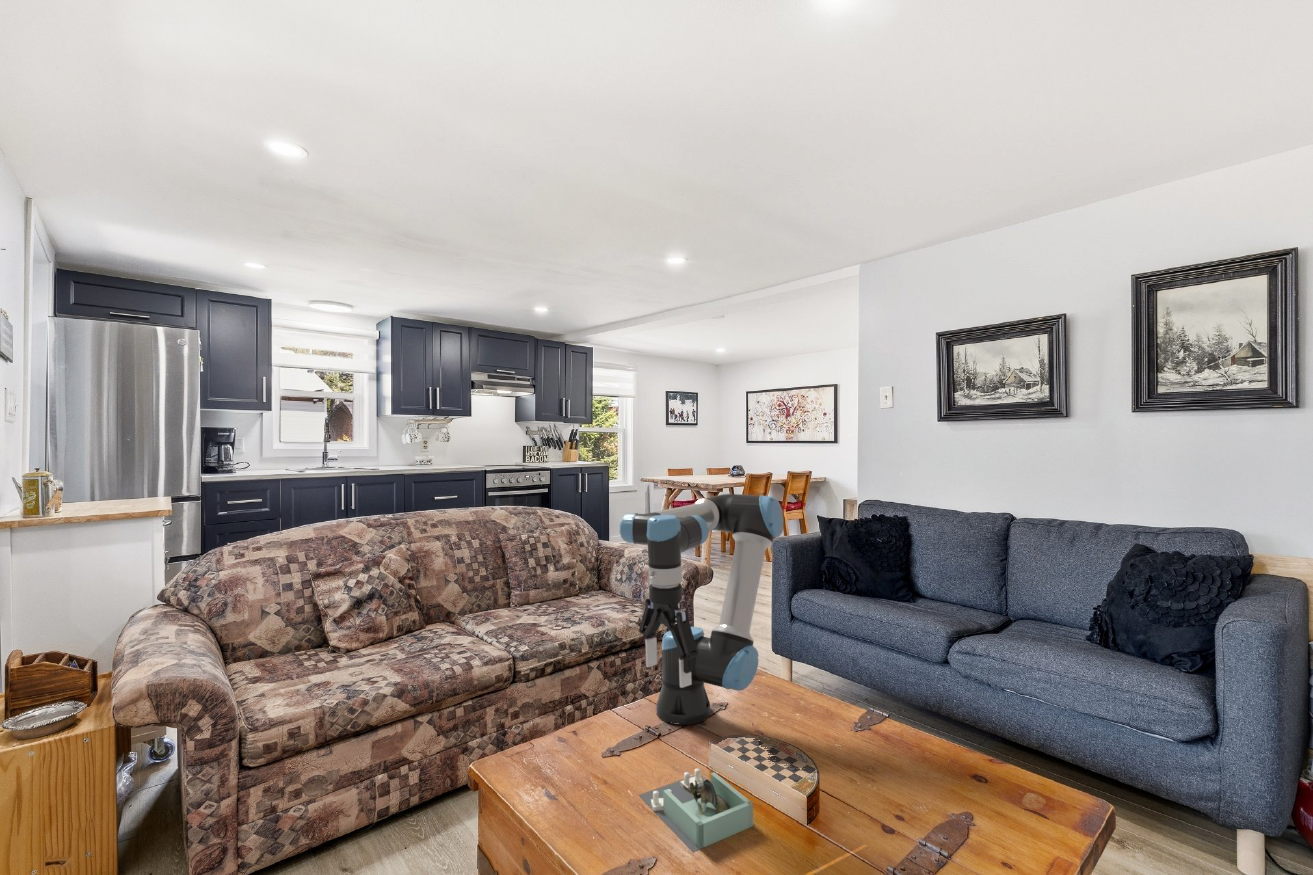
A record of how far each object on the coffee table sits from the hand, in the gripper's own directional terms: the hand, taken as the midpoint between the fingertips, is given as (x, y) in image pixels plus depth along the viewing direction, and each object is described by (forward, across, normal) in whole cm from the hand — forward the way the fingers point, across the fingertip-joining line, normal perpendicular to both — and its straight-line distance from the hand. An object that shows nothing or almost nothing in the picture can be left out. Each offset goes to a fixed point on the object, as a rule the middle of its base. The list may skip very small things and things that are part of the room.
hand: (668, 675), depth 140 cm
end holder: (+22, +18, -4) cm, 29 cm away
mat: (+23, +14, -4) cm, 27 cm away
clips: (+22, +9, -4) cm, 24 cm away
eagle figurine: (+22, +17, -2) cm, 28 cm away
